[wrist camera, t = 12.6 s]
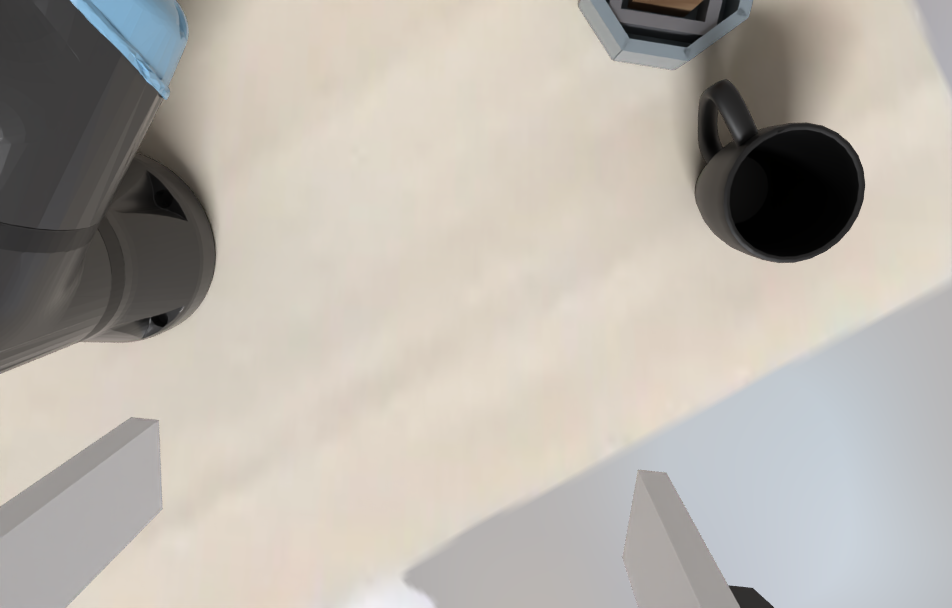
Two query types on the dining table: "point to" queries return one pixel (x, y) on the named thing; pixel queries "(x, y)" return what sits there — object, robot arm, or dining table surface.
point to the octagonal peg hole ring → (661, 30)
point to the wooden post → (665, 6)
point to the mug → (774, 182)
